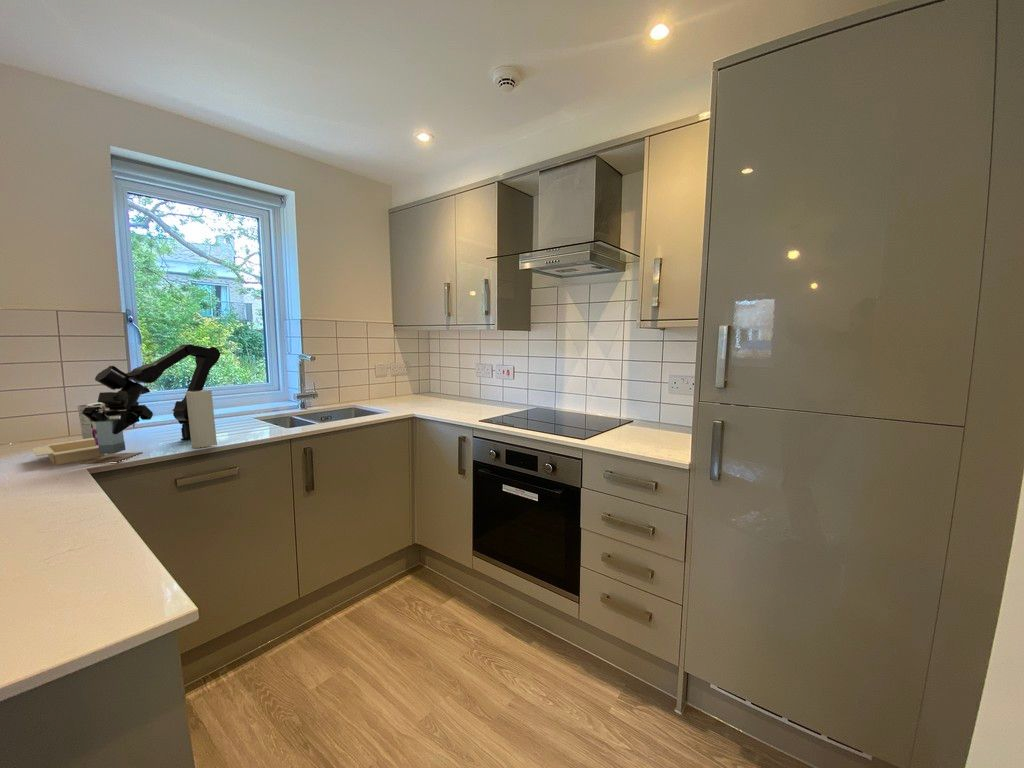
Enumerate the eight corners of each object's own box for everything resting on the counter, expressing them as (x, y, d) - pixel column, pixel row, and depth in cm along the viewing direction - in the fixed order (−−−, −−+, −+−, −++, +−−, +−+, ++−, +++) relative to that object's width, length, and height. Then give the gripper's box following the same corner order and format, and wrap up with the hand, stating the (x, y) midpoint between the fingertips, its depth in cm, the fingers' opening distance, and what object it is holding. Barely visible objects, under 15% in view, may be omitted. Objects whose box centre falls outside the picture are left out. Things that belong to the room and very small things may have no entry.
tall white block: (187, 447, 157) (181, 391, 155) (204, 443, 163) (199, 389, 160) (200, 449, 154) (194, 391, 152) (217, 445, 160) (211, 389, 158)
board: (142, 454, 149) (142, 452, 149) (118, 463, 138) (118, 461, 138) (108, 456, 148) (108, 453, 148) (80, 465, 137) (80, 462, 137)
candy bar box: (110, 440, 173) (105, 400, 171) (122, 439, 172) (117, 400, 171) (82, 447, 161) (76, 405, 160) (95, 447, 161) (89, 405, 160)
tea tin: (110, 450, 145) (106, 419, 143) (125, 449, 145) (121, 418, 144) (99, 454, 140) (95, 422, 139) (114, 453, 141) (110, 421, 140)
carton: (116, 445, 162) (114, 434, 162) (130, 454, 148) (128, 442, 148) (32, 459, 145) (30, 446, 145) (39, 471, 131) (37, 457, 131)
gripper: (82, 383, 143) (57, 422, 133) (142, 381, 145) (122, 419, 136) (104, 403, 151) (82, 440, 142) (161, 400, 154) (143, 437, 144)
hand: (107, 434), depth 141 cm, fingers closed on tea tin, 4 cm apart
